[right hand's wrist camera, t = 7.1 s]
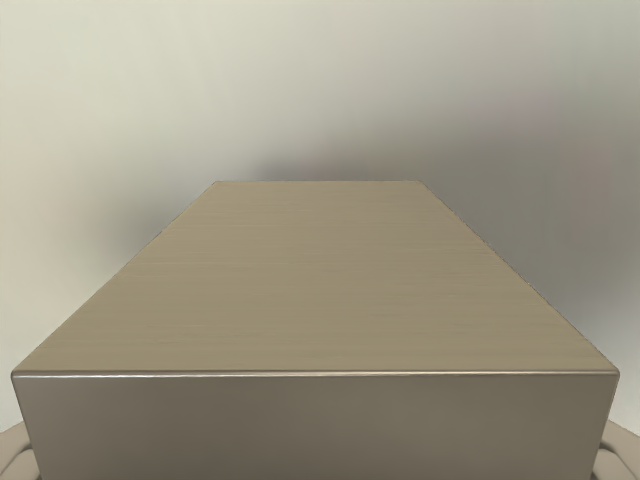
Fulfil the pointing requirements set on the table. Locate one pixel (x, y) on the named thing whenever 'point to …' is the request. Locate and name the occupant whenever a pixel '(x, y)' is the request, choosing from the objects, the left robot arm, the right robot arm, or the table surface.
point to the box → (316, 351)
